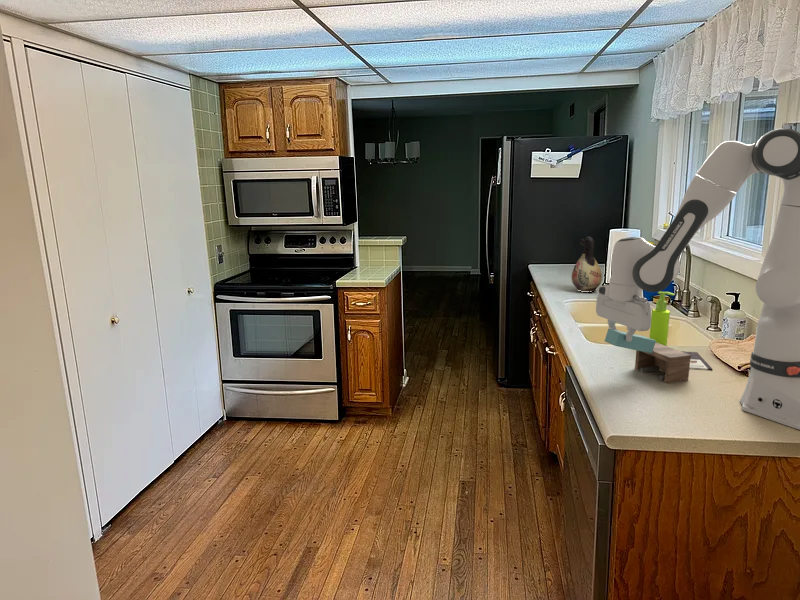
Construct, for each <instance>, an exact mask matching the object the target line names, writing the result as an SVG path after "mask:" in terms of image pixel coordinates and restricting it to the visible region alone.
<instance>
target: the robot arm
mask: <svg viewBox="0 0 800 600" xmlns="http://www.w3.org/2000/svg"><path fill="white" fill-rule="evenodd" d="M757 173H760V174H766V175H770V176H775V177H777V178H781V180H782V181H783V192H782V196H781V197H782V198H781V200H780V205H779V209H778V214H777V217H776V222H775V225H774V226H775V227H774V231H773V233H772V238H771V239H770V243H769V245H768V249H767V251H766V253H765V256H764V259H763V262H762V264H761V268H760V271H759V275H758V277H757V280H756V283H755V293H756V295H757V298H758V299H759V300H760V301H761V302H762V303H763V305H762V309H761V312H760V315H759V317H758V321H757V322H756V323H757V324H756V329H755V330H756V331H755V338H754V345H753V350H752V351H751V354H750V359H749V361H750V362H749V366H750V371H749V375H748V379H747V381H746V385H745V388H744V391H743V394H742V395H741V398H740V399H739V402H740V404H741V405H742V406H741V410H742V411H743V412H746V413H750V414H752V415H755V416H758V417H760V418H761V417H762V418H765V419H766V420H770V421H773V422H775V423H778V424H782V425H784V426H788V427H790V428H793V429H796V430H800V132H799V131H797V130H795V129H793V128H788V127H786V128H785V127H782V128H781V127H780V128H776V129H773V130H770V131H767V132H766V133H765V134H763V135H762V136H761V137H760V138H759V139H758V140H757V141H755V142H753V143H752V144H747V143H743V142H741V141H737V140H727V141H724V142H721V143H720V144H719V145H718V146H717V147H716V148H715V149H714V150H713V151H712V152H711V153H710V155H709V156H708V157H707V158H706V159H705V161H704V162H703V163H702V165H701V166H700V168H699V169H698V170H697V172H696V173H695V175H694V176H693V177H692V179H691V181H690V183H689V184H688V186H687V188H686V191H685V193H684V196H683V199H682V201H681V203H680V205H679V208H678V209H677V212H676V214H675V217H674V219H673V220H672V222H671V223H670V225H669V226H668V228H667V229H666V231H664V234H663V235H662V236H661V238H660V240H659V241H658V242H657V244H656V245H654V244H651V243H650V242H648V241H647V240H646V239H645V238H644V237H641V236H630V237H625V238H620V239H619V240H617V241H616V242H615V243H614V245H613V249H612V254H611V260H610V270H611V275H610V278H609V283H608V284H607V285H599V286H598V287H597V288H596V292H597V296H596V302H595V313H596V315H597V317H600V318H603V319H605V320H607V323H606V324H607V325H608V329H613V330H617V331H619V330H618V329H617V327H616V324H620V325H622V326H625V327H626V330H627V334H625V335H624V340H625V341H627V342H629V341H632V335H633V334H636V332H637V331H638V332H647V331H650V327H651V315H652V308H651V303H650V301H648V299H647V298H646V297H641V295H642V290H643V291H645V292H648V293H658V292H663V290H666V288H669V286H670V284H671V283H672V281H674V280H675V279H676V278H677V276H678V275H679V273H680V271H681V262H680V260H679V257H680V256H681V255H682V253H683V252H684V250H685V249H686V248H687V246H688V245H689V243H690V242H691V240H692V239H693V238H694V237H695V235H696V233H698V232H699V231H700V230H701V229H702V227H704V226H705V225H707V224H708V223H709V222H711V221H712V220H713V219H714V218H716V217H717V216H719V215H720V213H722V212H723V210H725V209H726V208H727V206H728V205H729V204H730V203H731V202H732V201H733V199H734V197H735V196H737V193H738V192H739V191H740V189H741V188H742V187H743V185H744V184H745V182H746V181H747V180H748V178H750V177H751V176H752V175H754V174H757Z"/></svg>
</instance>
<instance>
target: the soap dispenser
mask: <svg viewBox="0 0 800 600" xmlns="http://www.w3.org/2000/svg"><path fill="white" fill-rule="evenodd" d="M657 294H658V295H659V299H658V300H656V302H655V303H656V306H655V308H654V309H651V327H650V329H649V338H650V339H653V340H656V343H659V344H662V345H665V346H667V345H668V334H669V327H670V314H671V311H670V310H668V309H667V304H668V301H667V300H665V298H666V295H669V296H672V297H673V296H675V295H676V293H673V292H670V291H659V292H657ZM667 347H668V346H667Z"/></svg>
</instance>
